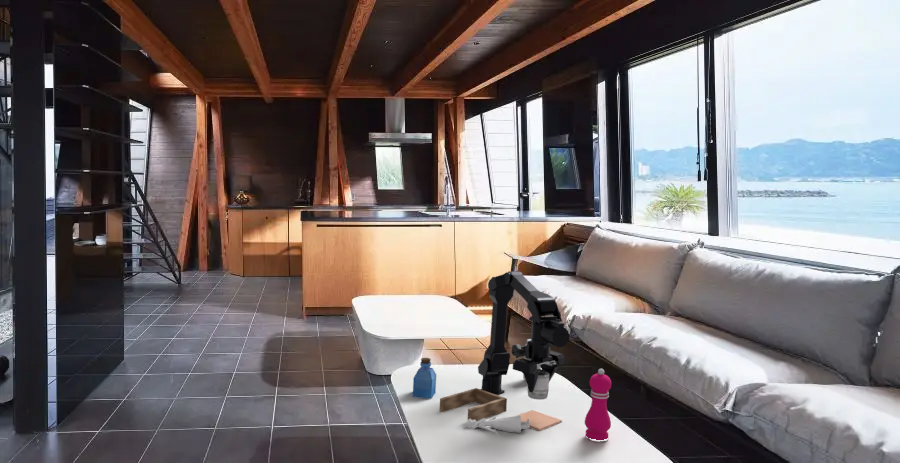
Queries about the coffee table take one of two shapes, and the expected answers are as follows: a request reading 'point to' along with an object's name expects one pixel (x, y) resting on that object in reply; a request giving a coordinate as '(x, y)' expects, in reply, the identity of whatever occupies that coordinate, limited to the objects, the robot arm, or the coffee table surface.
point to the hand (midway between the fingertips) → (537, 389)
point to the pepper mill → (598, 407)
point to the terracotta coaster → (539, 420)
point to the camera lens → (540, 386)
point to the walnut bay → (488, 400)
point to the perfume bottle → (424, 380)
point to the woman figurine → (500, 424)
